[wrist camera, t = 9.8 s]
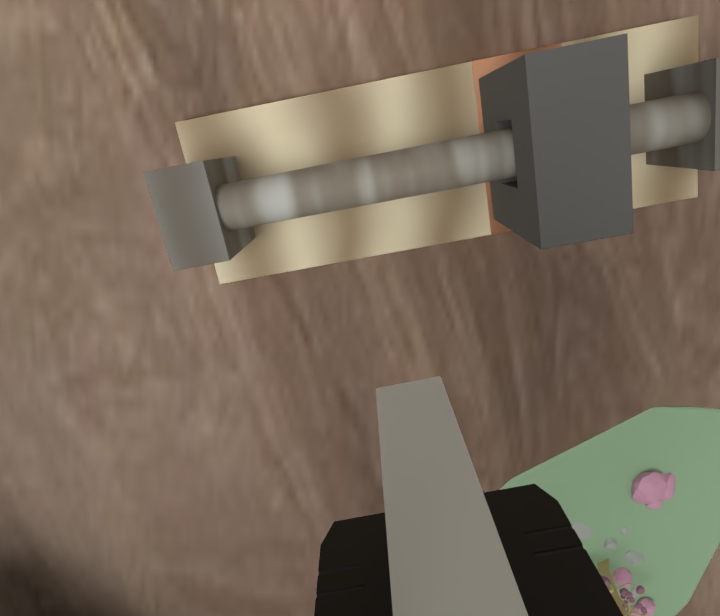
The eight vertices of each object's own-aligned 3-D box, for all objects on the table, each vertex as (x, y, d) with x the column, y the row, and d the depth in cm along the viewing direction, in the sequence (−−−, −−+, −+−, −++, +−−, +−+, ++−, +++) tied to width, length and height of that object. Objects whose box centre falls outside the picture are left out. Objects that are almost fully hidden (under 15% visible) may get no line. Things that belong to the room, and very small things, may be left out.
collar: (493, 218, 32) (541, 249, 23) (478, 78, 30) (524, 54, 21) (560, 206, 32) (633, 232, 23) (549, 64, 29) (627, 33, 21)
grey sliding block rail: (225, 278, 35) (187, 316, 28) (183, 123, 32) (126, 118, 25) (683, 194, 33) (777, 211, 26) (683, 20, 30) (789, -19, 23)
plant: (592, 337, 37) (661, 397, 28) (825, 449, 40) (952, 536, 31) (425, 588, 44) (440, 697, 35) (632, 670, 47) (692, 790, 38)
